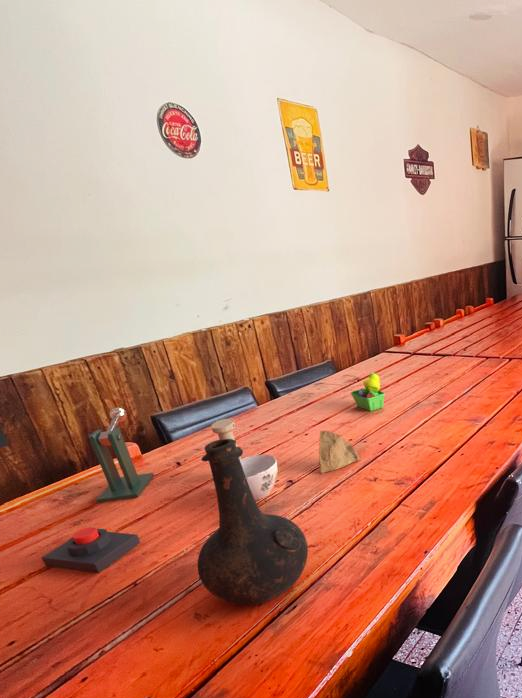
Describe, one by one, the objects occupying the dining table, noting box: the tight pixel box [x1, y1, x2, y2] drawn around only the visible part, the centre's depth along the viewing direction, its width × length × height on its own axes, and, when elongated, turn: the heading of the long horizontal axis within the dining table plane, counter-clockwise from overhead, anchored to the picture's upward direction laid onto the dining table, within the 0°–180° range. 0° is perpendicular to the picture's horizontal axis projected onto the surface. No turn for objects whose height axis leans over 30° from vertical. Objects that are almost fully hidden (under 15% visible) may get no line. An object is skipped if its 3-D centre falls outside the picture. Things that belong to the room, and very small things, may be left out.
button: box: [71, 526, 99, 545], centre depth 101 cm, size 4×4×2 cm
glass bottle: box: [197, 439, 309, 606], centre depth 86 cm, size 18×18×28 cm
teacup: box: [240, 454, 278, 501], centre depth 120 cm, size 15×12×8 cm
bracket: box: [88, 427, 155, 504], centre depth 125 cm, size 12×9×16 cm
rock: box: [318, 430, 361, 475], centre depth 134 cm, size 11×9×10 cm
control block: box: [41, 528, 141, 574], centre depth 103 cm, size 13×10×4 cm
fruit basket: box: [350, 372, 386, 412], centre depth 175 cm, size 11×9×11 cm
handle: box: [210, 418, 242, 459], centre depth 129 cm, size 5×6×15 cm
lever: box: [98, 407, 128, 447], centre depth 127 cm, size 13×4×4 cm, turn 13°
